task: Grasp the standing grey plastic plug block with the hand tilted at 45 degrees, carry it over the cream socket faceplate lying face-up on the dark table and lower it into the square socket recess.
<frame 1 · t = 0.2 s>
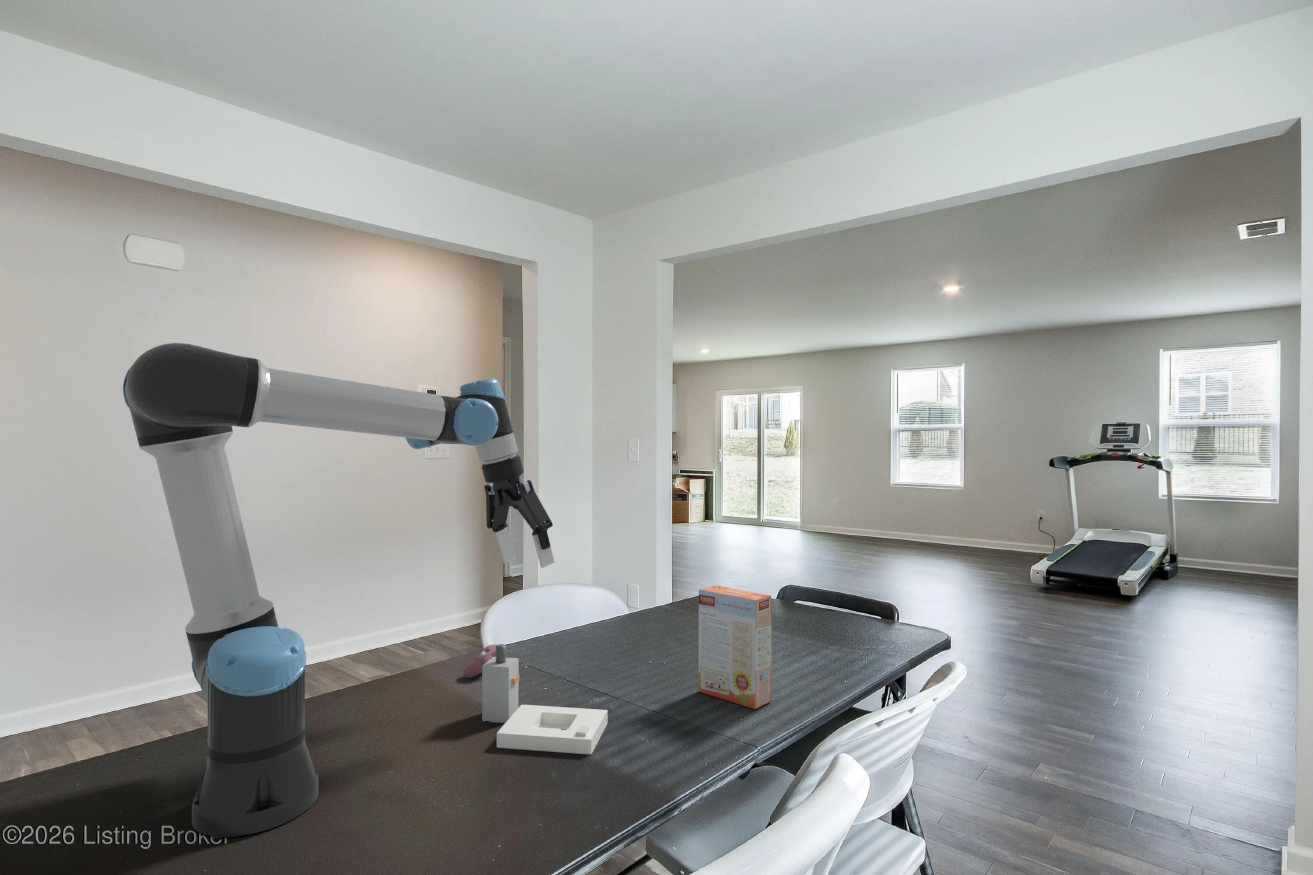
hand: (528, 562, 134), 26 cm above the table, tool tilted 15°, fingers open, 13 cm apart
socket plate: (554, 734, 117), on the table
plug: (500, 716, 125), on the table
video game controller: (485, 672, 149), on the table
cracker box: (734, 697, 135), on the table
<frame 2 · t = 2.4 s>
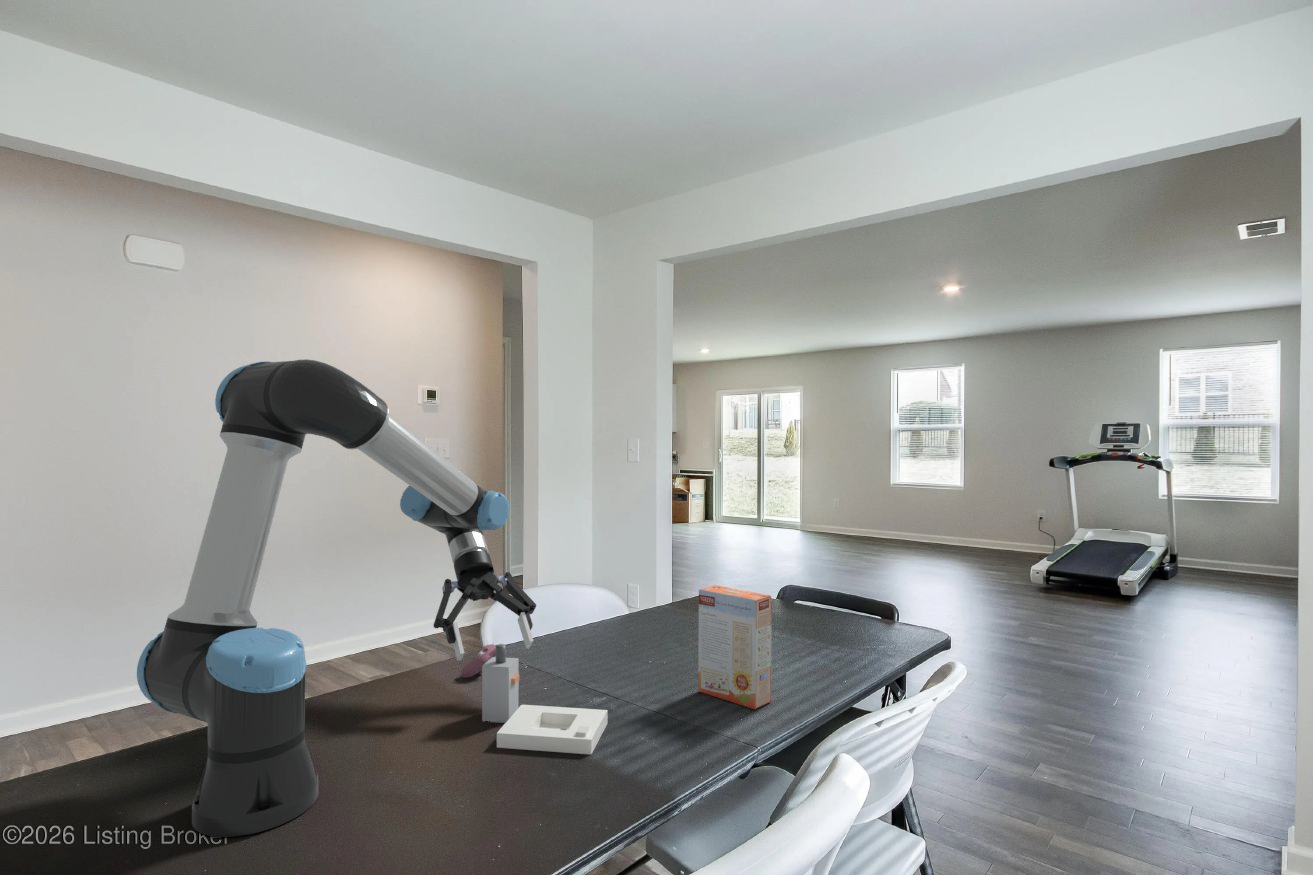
hand: (496, 650, 130), 10 cm above the table, tool tilted 45°, fingers open, 13 cm apart
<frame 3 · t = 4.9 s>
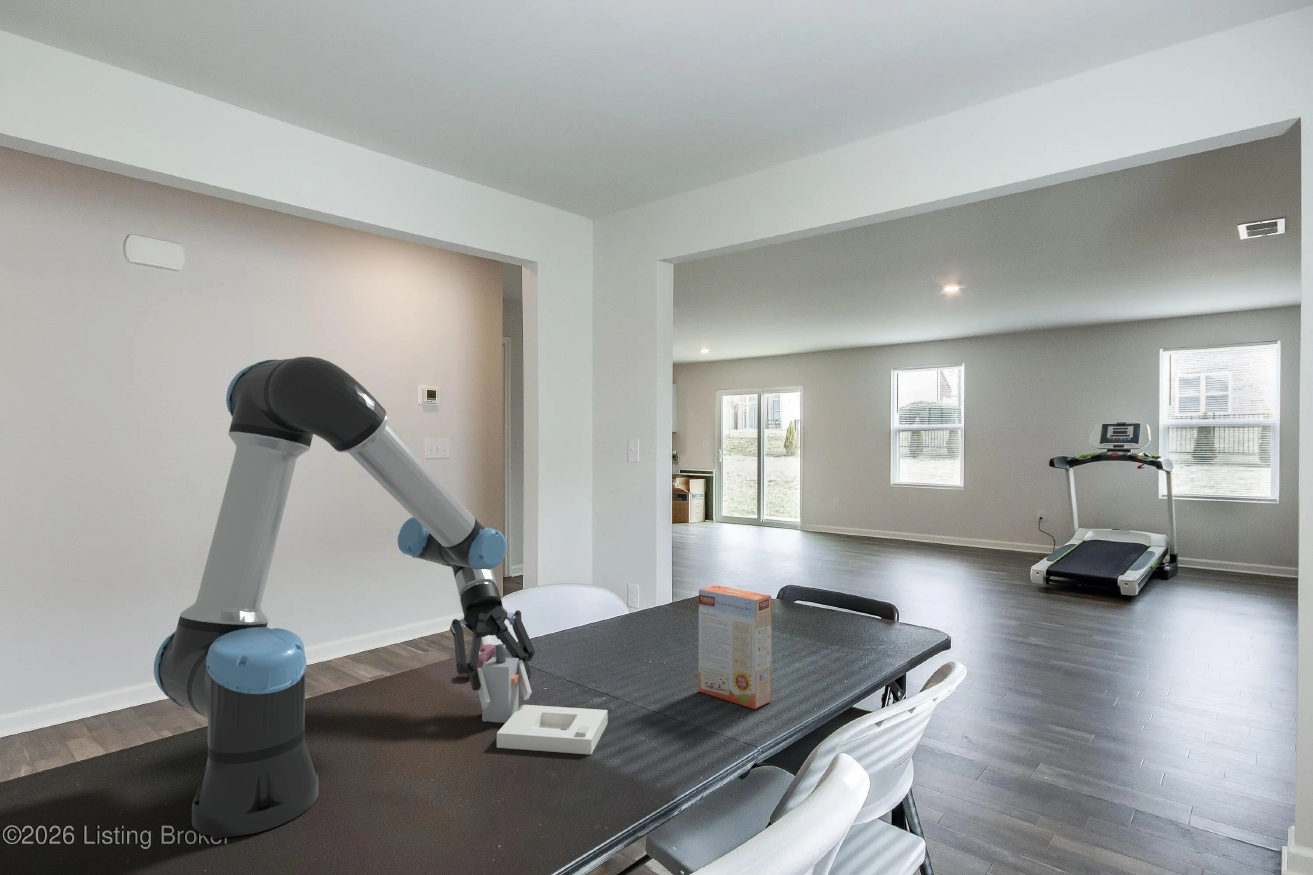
hand: (507, 700, 122), 4 cm above the table, tool tilted 45°, fingers closed on plug, 7 cm apart
plug: (500, 716, 125), on the table, touching gripper
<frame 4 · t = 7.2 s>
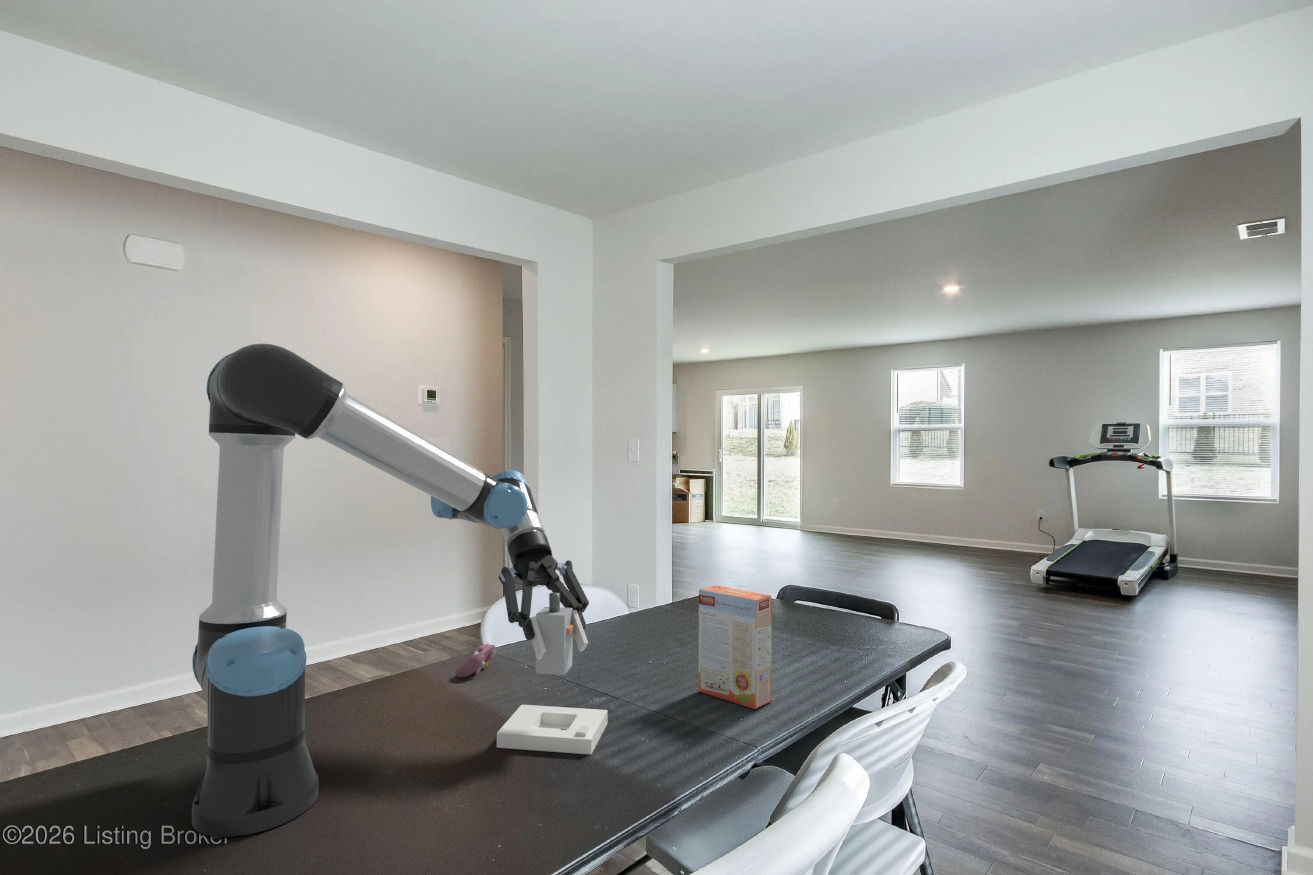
hand: (563, 650, 114), 15 cm above the table, tool tilted 45°, fingers closed on plug, 7 cm apart
plug: (554, 668, 117), point 11 cm above the table, touching gripper
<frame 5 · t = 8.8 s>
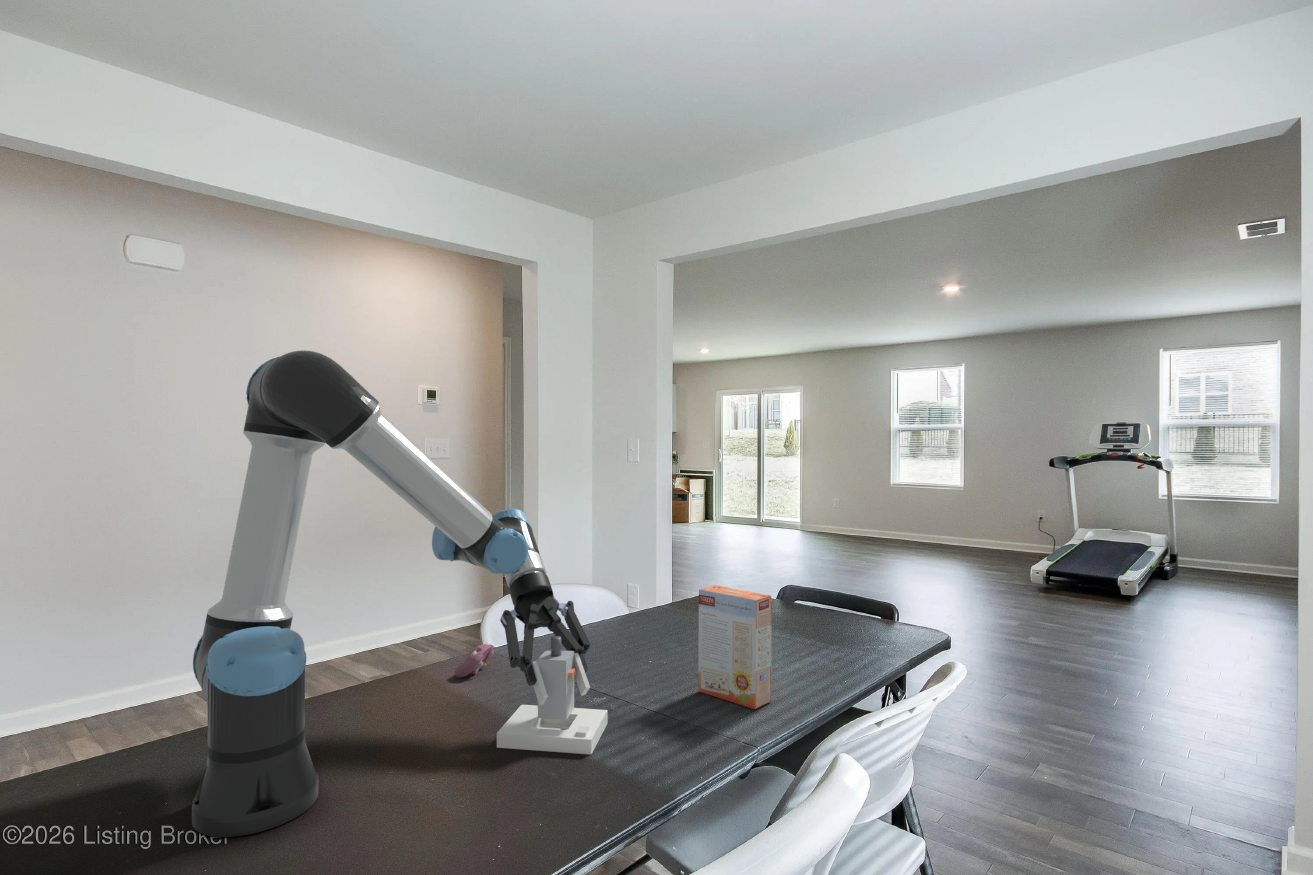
hand: (564, 695, 115), 8 cm above the table, tool tilted 45°, fingers closed on plug, 7 cm apart
plug: (556, 712, 118), point 4 cm above the table, touching gripper
when the fingers open (5 cm above the table, at t = 9.9 s): plug stays where it is, resting on socket plate.
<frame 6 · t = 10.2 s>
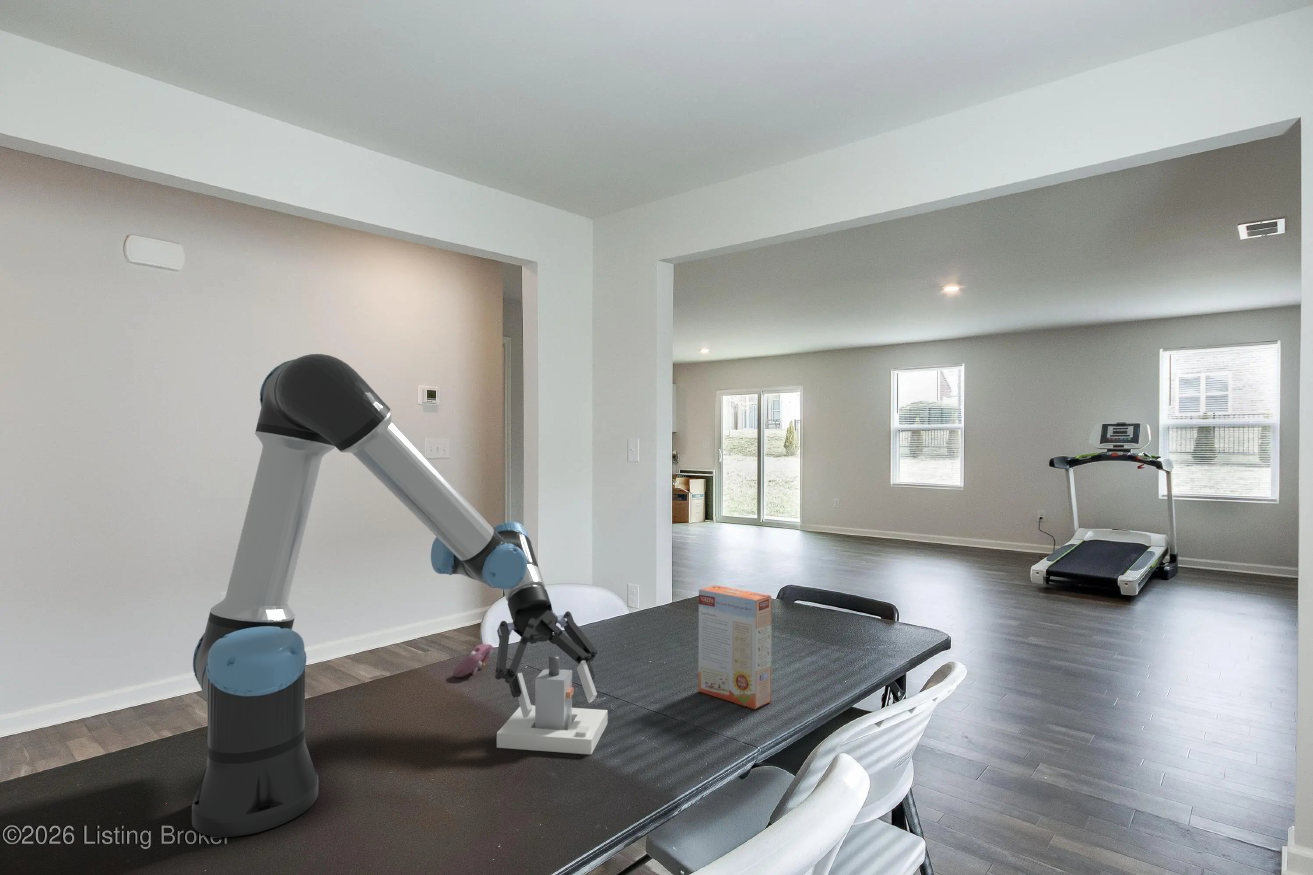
hand: (561, 705, 115), 6 cm above the table, tool tilted 45°, fingers open, 11 cm apart
plug: (553, 732, 117), resting on socket plate
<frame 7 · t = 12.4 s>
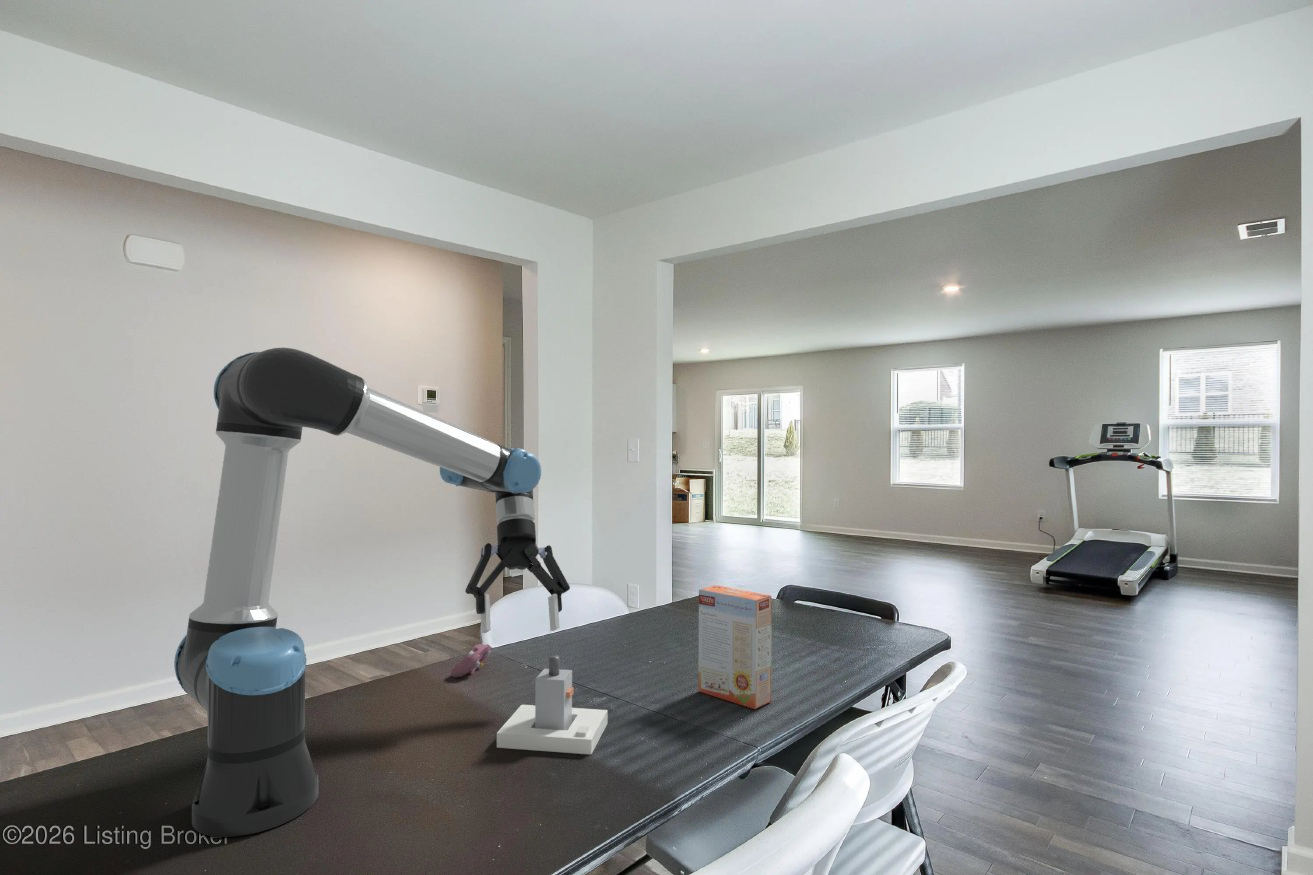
hand: (521, 630, 128), 15 cm above the table, tool tilted 25°, fingers open, 13 cm apart
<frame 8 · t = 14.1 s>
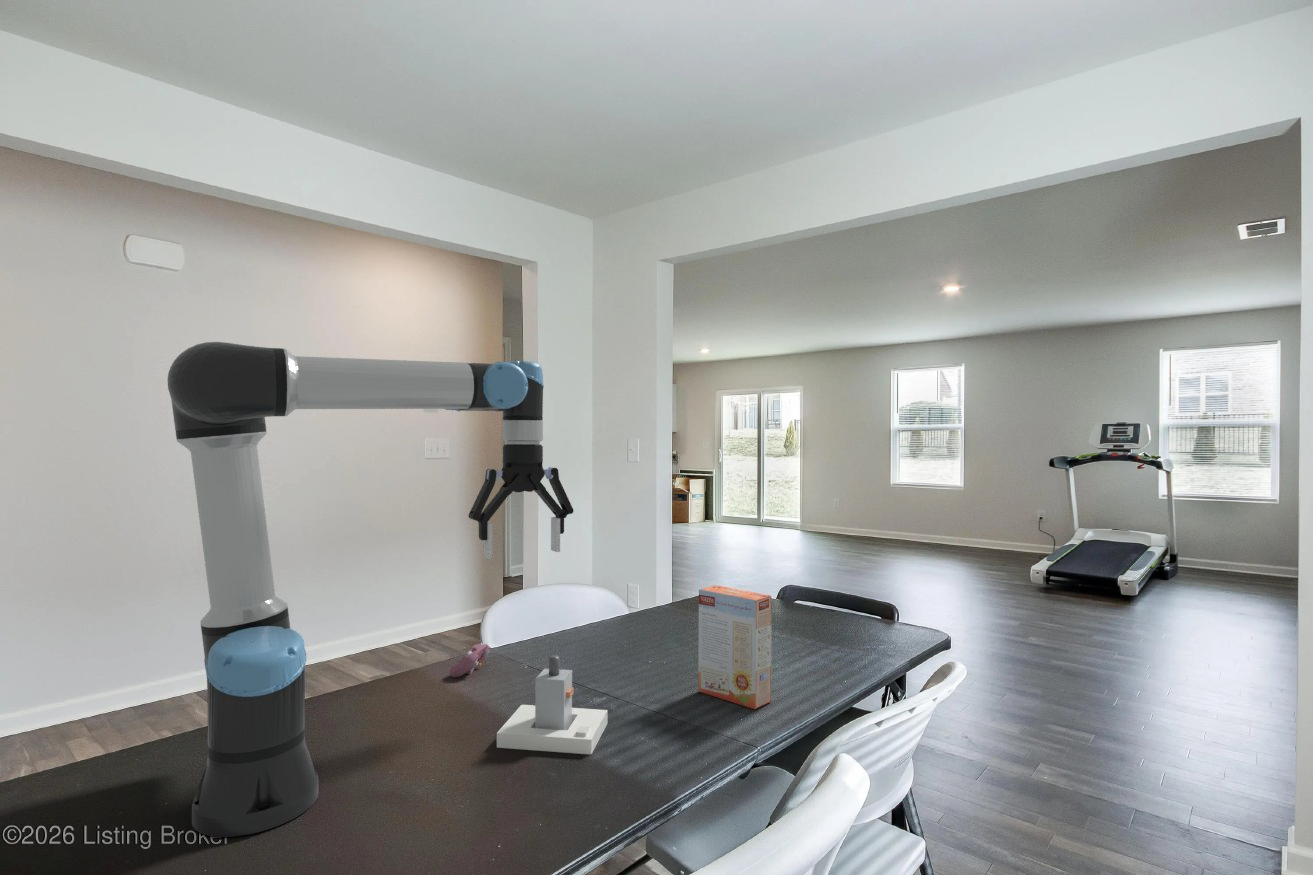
hand: (522, 554, 131), 29 cm above the table, tool pointing down, fingers open, 13 cm apart
at the end: plug 0.1 cm off-centre on the socket plate, point 0.4 cm above the socket plate's base; plug tilted 0°; the gripper is holding nothing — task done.
